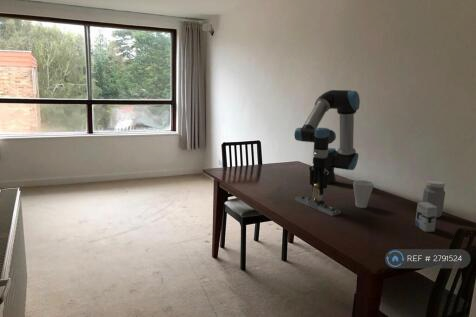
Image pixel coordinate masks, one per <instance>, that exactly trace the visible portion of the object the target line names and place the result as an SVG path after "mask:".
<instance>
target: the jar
mask: <svg viewBox="0 0 476 317" xmlns="http://www.w3.org/2000/svg"><path fill="white" fill-rule="evenodd" d="M445 185H446V182H444V181H441V180H437V179H436V180H435V179H427V180H426V182H425V188H424V189H423V194H422V201H421V202H428V203H430V204H432V205H434V206H436V207H437V208H438V209H437V216H436V219H437V218H440V217H441V216H443V210H444V204H445V198H446V192H445Z"/></svg>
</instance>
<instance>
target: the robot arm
mask: <svg viewBox="0 0 476 317" xmlns="http://www.w3.org/2000/svg"><path fill="white" fill-rule="evenodd" d="M359 95H360V94H359V93H358V91H356V90H351V89H350V90H349V89H348V90H347V89H343V90H342V89H337V90H336V89H330V90H328V91H326V92H324V93H322V94H321V95H320V96H319V97H317V99H316V101H315V103H314V107H313V109H312V110H311V112H310V113H309V115H308V116H307V119H306V120H305V122H304V124H303V125H302V127H297V128H295V131H294V139H295V140H296V141H298V142H305V143H306V142H307V143H313V152H312V153H313V154H312V164H313V165H312V166H309V185H311V186H312V188H311V189H312V191H311V192H312V198H311V199H313V200H314V193H315V186H314V183H319V188H318V199H317V200H318V201H320V200H323V196H324V189H325V190H326V189H327V188H328V185H332V184H335V183H337V182H336V181H337V178H336V174H335V169H338V170H339V169H341V170H346V171H354V170H355V169H356V167H357V164H358V161H359V153H357V152H356V149H355V148H354V127H355V124H354V120H355V117H354V116H355V114H356V113H357V111H358V110H359V108H360V104H361V103H360V101H361V100H360V96H359ZM331 109H333V110H334V109H335V110H336V113H337V114H338V115H339V148H338V149H336V148H333V147H329V144H332V143H333V142H335V140H336V138H337V134H336V132H335V131H334V130H332V129H329V128H328V127H319V124H320V123H321V122H322V119H323V118H324V116H325V114H326V113H327V112H328V111H329V110H331Z"/></svg>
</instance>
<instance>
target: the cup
mask: <svg viewBox="0 0 476 317" xmlns="http://www.w3.org/2000/svg"><path fill="white" fill-rule="evenodd" d="M374 186H375V184H374V182H372V181H370V180H369V181H368V180H354V181H353V184H352V187H353V194H354V199H355V200H354V202H355V203H354V204H355V207H357V208H360V209H366V208H368V203H369V200H370V198H371V195H372V192H373V189H374Z"/></svg>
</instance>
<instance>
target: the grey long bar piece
mask: <svg viewBox="0 0 476 317" xmlns="http://www.w3.org/2000/svg"><path fill="white" fill-rule="evenodd" d="M294 199H295V200H294V201H296V202H298V203H301V204H303V205H305V206H307V207H310V208H312V209H315V210H317V211H318V212H319V211H320V212H322V213H324V214H326V215H329V216H331V217H334V216H338V214H339V215H341V212H342V211H341V209H338V208H335V207H333V206H331V205H328V204H326V203H327V202H326V200H323V199H322V200H320V204H318V203H317V202H314V199H313V198H310V197H308V196H306V195H298V196H295V197H294Z"/></svg>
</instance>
